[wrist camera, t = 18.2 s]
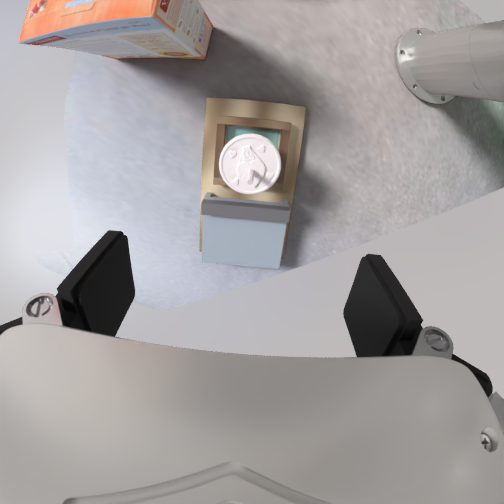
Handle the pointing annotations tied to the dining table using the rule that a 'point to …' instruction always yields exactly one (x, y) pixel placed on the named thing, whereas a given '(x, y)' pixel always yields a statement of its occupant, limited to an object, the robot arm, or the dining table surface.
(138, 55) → the cracker box
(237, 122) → the board
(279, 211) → the lid
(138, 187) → the dining table surface
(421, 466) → the robot arm
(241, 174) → the smoothie
